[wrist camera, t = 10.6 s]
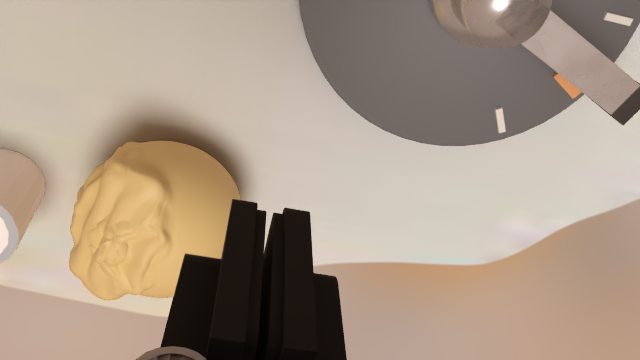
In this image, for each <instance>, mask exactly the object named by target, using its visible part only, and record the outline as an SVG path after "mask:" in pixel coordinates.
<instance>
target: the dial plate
mask: <svg viewBox="0 0 640 360" xmlns="http://www.w3.org/2000/svg"><path fill="white" fill-rule="evenodd" d="M299 1H300V10H301V17H302V21H303V25H304V29H305V34H306V38H307V40H308V43H309V45H310V48H311V51H312V53H313V56H314V58H315V60H316V62H317V64H318V66H319V67H320V69H321V71H322V73H323V75H324V76H325V78H326V79H327V81H328V82H329V83H330V85H331V86H332V87H333V89H334V90H335V91H336V93H337V94H338V95H339V96H340V97H341V98H342V99H343V100H344V101H345V102H346V103H347V104H348V105H349V106H350V107H351V108H352V109H353V110H354V111H356V112H357V113H358V114H360V115H361V116H362V117H363V118H365V119H366V120H367V121H369V122H371V123H373V124H374V125H376V126H378V127H379V128H381V129H383V130H385V131H387V132H390V133H392V134H394V135H397V136H399V137H402V138H405V139H409V140H413V141H416V142H420V143H426V144H433V145H441V146H466V145H475V144H483V143H488V142H492V141H497V140H501V139H505V138H508V137H511V136H513V135H516V134H519V133H522V132H525V131H527V130H529V129H531V128H533V127H535V126H537V125H540V124H542V123H544V122H545V121H547V120H549V119H550V118H552V117H554V116H555V115H557V114H559V113H560V112H562V111H563V110H565V109H566V108H567V107H569V106H570V105H571V104H573V103H574V102H575V101H577V100H578V99H579V98H580V97H582V96H583V95H584V93H583V92H581V91H580V90H579V89H578V88H576V87H575V86H574V85H573V84H571V83H570V82H569V81H567V80H566V79H565V78H564V77H562V76H561V75H560V74H559V73H557V72H556V71H555V70H554V69H552V68H551V67H550V66H548V65H547V64H546V63H545V62H543V61H542V60H541V59H540V58H538V57H537V56H536V55H535V54H533V53H532V52H531V51H529V50H528V49H527V48H526V47H524V46H523V45H522V44H519V45H516V46H513V47H509V48H494V47H474V46H469V45H466V44H463V43H461V42H459V41H457V40H456V39H454V38H453V37H452V36H450V35H449V34H448V33H447V32H446V30H445V29H444V28H443V27H442V26H441V25H440V23H439V22H438V21H437V20H436V18H435V17H434V15H433V13H432V11H431V9H430V5H429V2H428V0H299ZM551 11H552V12H553V13H555V14H556V15H557V16H558V17H559V18H561V19H562V20H563V21H564V22H565V23H567V24H568V25H569V26H570V27H571V28H572V29H574V30H575V31H576V32H577V33H578V34H580V35H581V36H582V37H583V38H584V39H586V40H587V41H588V42H589V43H590V44H592V45H593V46H594V47H595V48H596V49H598V50H599V51H600V52H601V53H602V54H604V55H605V56H606V57H607V58H608V59H610V60H611V61H612V62H613V63H614V62H615V61H616V59H617V58H618V57H619V55H620V54H621V52H622V51H623V50H624V48H625V47H626V45H627V44H628V42H629V40H630V39H631V37H632V35H633V33H634V32H635V30H636V28H637V26H638V25H639V23H640V0H552V5H551Z"/></svg>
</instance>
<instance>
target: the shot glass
mask: <svg viewBox="0 0 640 360" xmlns="http://www.w3.org/2000/svg"><path fill="white" fill-rule="evenodd" d="M44 191H45V180H44V177H43V175H42V172H41V170H40V169H39V168H38V167H37V166H36V165H35V163H34V162H33V161H32V160H31V159H29V158H27V157H25V156H24V155H22V154H20V153H19V152H15V151H11V150H7V149H0V263H1V262H3V261H5V260H7V259H9V258H10V257H11V255H12V254H13V253H14V251H15V250H16V248H17V247H18V245H19V243H20V241H21V239H22V237H23V235H24V233H25V231H26V229H27V227H28V225H29V223H30V221H31V219H32V217H33V215H34V213H35V211H36V209H37V207H38V205H39V203H40V201H41V199H42V197H43V195H44Z"/></svg>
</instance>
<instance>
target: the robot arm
mask: <svg viewBox="0 0 640 360" xmlns="http://www.w3.org/2000/svg"><path fill="white" fill-rule="evenodd" d="M265 224H266V211H261V210H257V203H254V202H248V201H242V200H236V199H232V203H231V209H230V214H229V219H228V225H227V230H226V236H225V241H224V246H223V252H222V257H221V259H218V258H212V257H205V256H199V255H192V254H186V253H185V255H184V258H183V262H182V266H181V270H180V274H179V278H178V282H177V285H176V289H175V293H174V297H173V301H172V305H171V309H170V313H169V316H168V320H167V324H166V328H165V332H164V336H163V340H162V344H161V347H160V348H156V349H154V350H151V351H148V352H146V353H145V354H143V355H142V356H140V357H139V358H137V359H136V360H347V359H346V351H345V342H344V333H343V324H342V315H341V306H340V297H339V289H338V281H337V278H336V277H335V276H328V275H322V274H315V273H313V258H312V240H311V223H310V212H307V211H301V210H295V209H289V208H284V210H283V214H279V213H273V217H272V221H271V225H270V229H269V234H268V238H267V242H266V247H265V251H264V240H265Z"/></svg>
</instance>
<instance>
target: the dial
mask: <svg viewBox="0 0 640 360" xmlns="http://www.w3.org/2000/svg"><path fill="white" fill-rule="evenodd" d="M428 2H429V5H430V9H431V11H432V13H433V15H434V17H435V18H436V20H437V21H438V22H439V23H440V25H441V26H442V27H443V28H444V29H445V30H446V32H447V33H448V34H449V35H450V36H452V37H453V38H454V39H456V40H457V41H459V42H461V43H463V44H466V45H469V46H474V47H494V48H509V47H513V46H516V45H519V44H522V45H523V46H524V47H526V48H527V49H528V50H529V51H531V52H532V53H533V54H535V55H536V56H537V57H538V58H540V59H541V60H542V61H543V62H545V63H546V64H547V65H548V66H550V67H551V68H552V69H554V70H555V71H556V72H557V73H559V74H560V75H561V76H562V77H564V78H565V79H566V80H567V81H569V82H570V83H571V84H573V85H574V86H575V87H576V88H578V89H579V90H580V91H581V92H583V93H584V94H585V95H586V96H588V97H589V98H590V99H591V100H592V101H594V102H595V103H596V104H597V105H598V106H600V107H601V108H602V109H603V110H604V111H606V112H607V113H608V114H609V115H610V116H612V117H613V118H614V119H615V120H617V121H618V122H619V123H621V124H622V125H624V124H625V123H626V122H627V121H628V120H629V119H630V118H631V117H632V116H633V115H634V114H636V113H637V112H638V111H639V110H640V84H639V83H638V82H636V81H635V80H634V79H632V78H631V77H630V76H629V75H628V74H626V73H625V72H624V71H623V70H622V69H620V68H619V67H618V66H617V65H616V64H614V63H613V62H612V61H611V60H610V59H608V58H607V57H606V56H605V55H604V54H602V53H601V52H600V51H599V50H598V49H596V48H595V47H594V46H593V45H592V44H590V43H589V42H588V41H587V40H586V39H584V38H583V37H582V36H581V35H580V34H578V33H577V32H576V31H575V30H574V29H572V28H571V27H570V26H569V25H568V24H567V23H565V22H564V21H563V20H562V19H561V18H559V17H558V16H557V15H556V14H555V13H553V12H552V11H551V5H552V0H428Z"/></svg>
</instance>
